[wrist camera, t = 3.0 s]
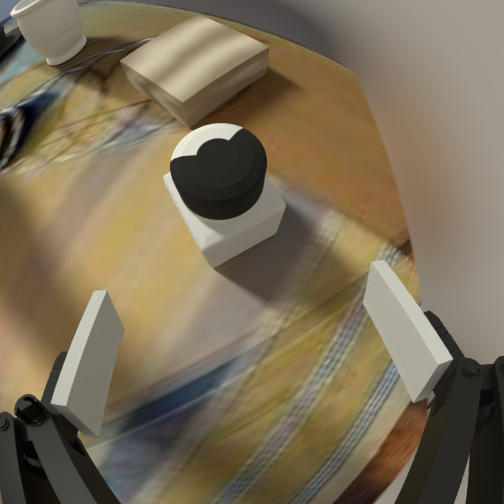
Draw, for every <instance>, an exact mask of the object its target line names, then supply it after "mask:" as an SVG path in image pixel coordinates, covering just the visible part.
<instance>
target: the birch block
mask: <svg viewBox="0 0 504 504" xmlns="http://www.w3.org/2000/svg"><path fill="white" fill-rule="evenodd" d="M268 54H269V47H268V46H266V45H264V44H262V43H260V42H258V41H256V40H254V39H252V38H250V37H248V36H246V35H244V34H242V33H240V32H238V31H235V30H233V29H231V28H229V27H227V26H224V25H222V24H220V23H217V22H215V21H213V20H210V19H208V18H205V17H203V16H200V15H197V16H195V17H193V18H191V19H189V20H187V21H185V22H183V23H181V24H179V25H177V26H175V27H174V28H172V29H170V30H168V31H166V32H165V33H163V34H161V35H159V36H158V37H156V38H154V39H153V40H151V41H149V42H148V43H146V44H144V45H143V46H141V47H140V48H138V49H137V50H135V51H134V52H132V53H131V54H129V55H128V56H126V57H125V58H123V59H122V60H120V63H121V65H122V67H123V70H124V72H125V74H126V77H127V79H128V81H129V84H131V85H132V86H133V87H135V88H136V89H137V90H139V91H140V92H142V93H143V94H144V95H146V96H147V97H148V98H150V99H151V100H153V101H154V102H155V103H157V104H158V105H159V106H161V107H162V108H163V109H165V110H166V111H167V112H169V113H170V114H171V115H173V116H174V117H175V118H176V119H178V120H179V121H180V122H182V123H183V124H184V125H186V126H187V127H188V128H189V129H190V128H191V127H192V126H193V125H195V124H196V123H197V122H198V121H200V120H201V119H202V118H204V117H205V116H206V115H208V114H209V113H210V112H212V111H213V110H214V109H216V108H217V107H218V106H220V105H221V104H222V103H224V102H225V101H227V100H228V99H229V98H231V97H232V96H234V95H235V94H236V93H238V92H239V91H241V90H242V89H244V88H245V87H247V86H248V85H250V84H251V83H253V82H254V81H256V80H257V79H259V78H260V77H262V76H263V75H265V74H266V73H267V65H268Z"/></svg>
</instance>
